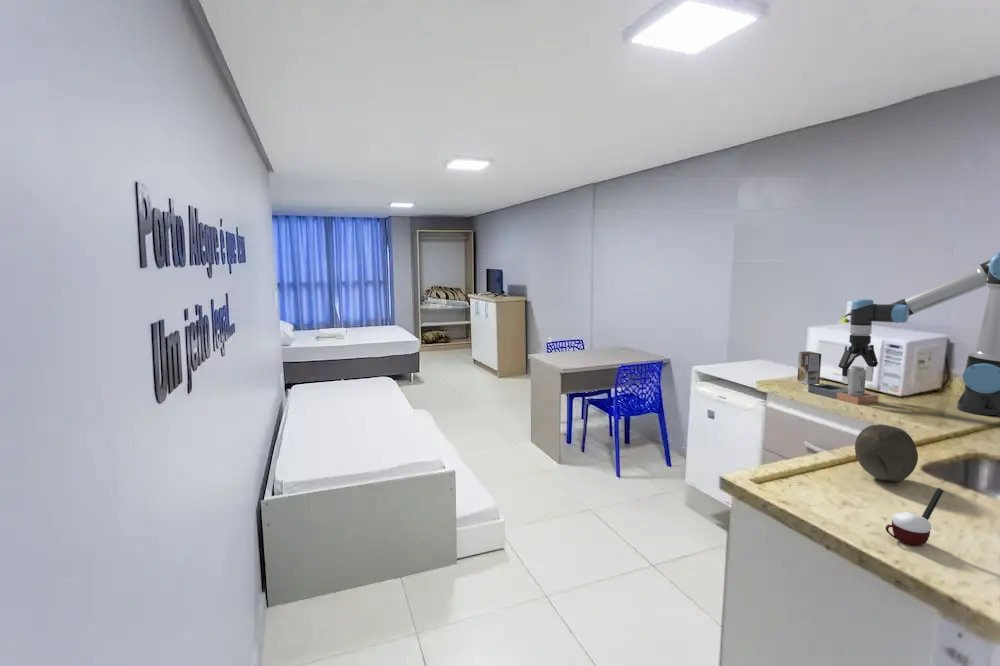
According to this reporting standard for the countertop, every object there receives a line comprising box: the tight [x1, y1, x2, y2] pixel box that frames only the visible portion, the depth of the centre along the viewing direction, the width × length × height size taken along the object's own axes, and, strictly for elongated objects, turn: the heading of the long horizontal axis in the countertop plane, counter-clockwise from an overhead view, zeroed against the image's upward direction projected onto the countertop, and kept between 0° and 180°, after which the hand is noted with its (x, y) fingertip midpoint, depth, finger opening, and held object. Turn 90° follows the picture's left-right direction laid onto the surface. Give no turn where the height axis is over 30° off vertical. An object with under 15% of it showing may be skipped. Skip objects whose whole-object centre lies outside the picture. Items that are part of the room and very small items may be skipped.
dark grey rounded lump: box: [854, 424, 919, 483], centre depth 134 cm, size 14×14×15 cm
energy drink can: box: [847, 365, 866, 396], centre depth 216 cm, size 6×6×15 cm
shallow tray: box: [807, 383, 880, 405], centre depth 223 cm, size 24×12×3 cm, turn 17°
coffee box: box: [796, 351, 822, 386], centre depth 250 cm, size 9×6×16 cm
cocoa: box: [885, 487, 944, 547], centre depth 103 cm, size 10×6×12 cm, turn 56°
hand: (857, 382), depth 216 cm, fingers open, 13 cm apart
